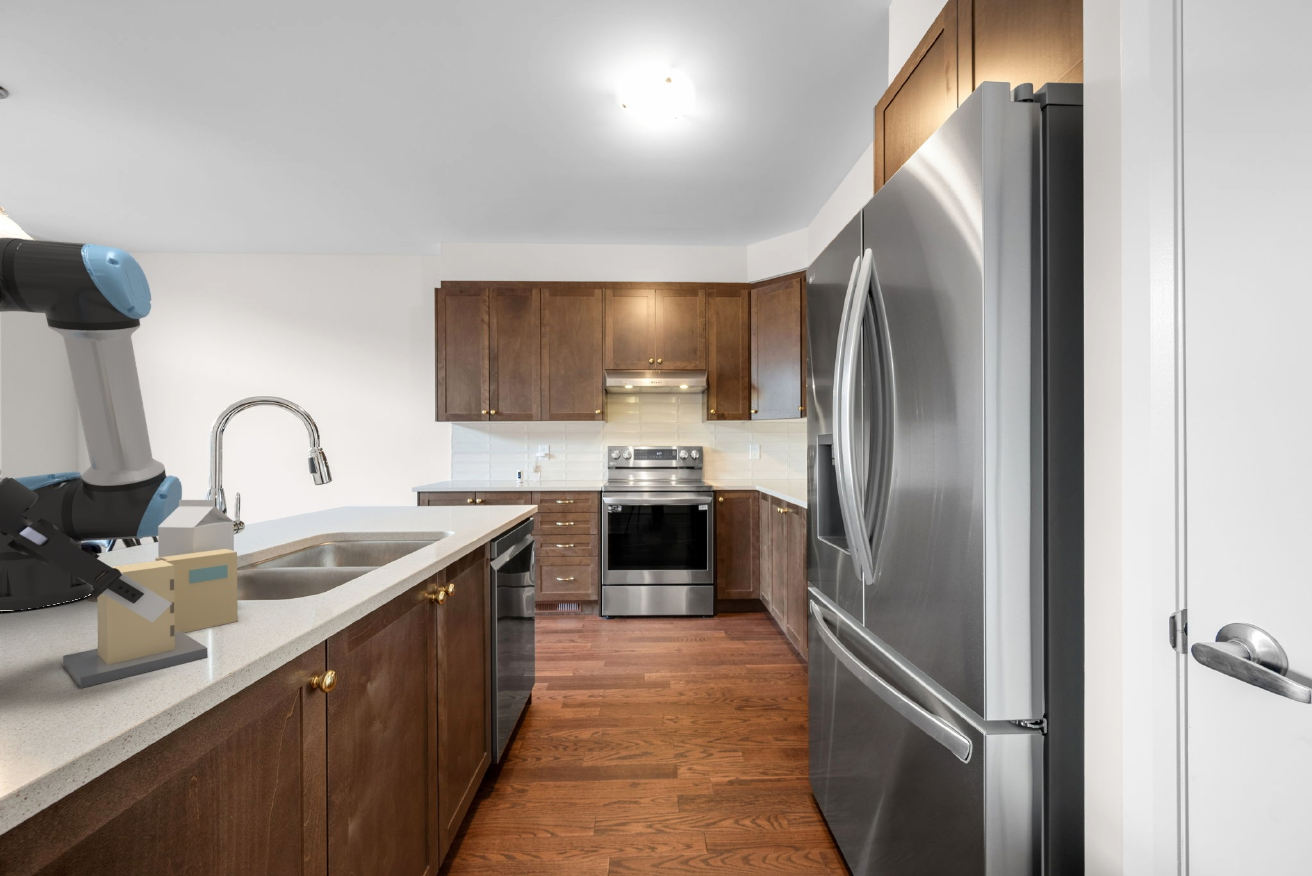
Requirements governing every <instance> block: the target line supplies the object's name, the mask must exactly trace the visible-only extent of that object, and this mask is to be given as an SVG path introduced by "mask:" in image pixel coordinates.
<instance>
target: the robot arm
mask: <svg viewBox="0 0 1312 876" xmlns="http://www.w3.org/2000/svg"><path fill="white" fill-rule="evenodd" d="M150 288H151V287H150V285H149V282H148V279H147V276H146V274H145V272H144V270H143V268H142V267H141V265H140V264H139V262H137V260H136V259H135V258H134V257H133V256H132V255H131V254H130V253H129V252H127V251H126V250H123V249H121V248H117V247H112V246H106V245H99V244H95V243H93V244H92V243H82V242H68V241H67V242H65V241H53V240H39V239H38V240H36V239H26V238H25V239H23V238H20V237H19V238H17V237H0V313H1V312H2V313H3V312H6V313H7V312H27V313H37V314H38V313H39V314H44V315H45V318H46V323H47V327H48V328H49V329H51V330H53V332H56V333H57V334H59V335H60V336H62V337H63V341H64V347H65V351H66V355H67V360H68V364H69V370H70V373H71V374H70V375H71V379H72V383H73V389H74V393H75V399H76V402H77V407H78V412H79V417H80V421H81V424H82V425H81V427H82V430H83V435H84V439H85V444H86V449H87V454H88V459H89V464H90V467H88V468H87V469H86V470H85V471H84V472H83V473H82V474H81V472H79V471H66V472H58V473H57V472H56V473H49V474H38V475H31V476H24V477H23V476H22V477H14V478H13V477H4V478H2V477H1V475H2V469H0V610H21V609H28V608H36V609H38V608H37V607H43V606H47V605H53V604H57V603H63V602H66V601H72V600H75V599H79V598H84V597H85V596H88V595H89V594H91V595H92V597H95V598H97V597H98V596H100V595H101V594H104V595H106V596H108V597H109V598H111V599H113V600H114V601H116V602H118V603H120V604H121V605H123V606H125V607H127V608H128V609H130V610H132V611H133V612H135V613H137V614H139V615H140V616H142V617H144V618H146V619H147V620H149V621H151V622H152V623H153V622H154V621H155V620H156V619H157V618H158V617H159V616H160V615H161V614H162V613H163V612H164V611H165V610H166V609H167V608H168V607H169V606H170V605H171V604H172V603H171V602H169V601H167V600H166V599H164V598H162V597H161V596H159V595H158V594H156V593H154V592H153V591H151V590H149V589H148V588H146V587H144V586H143V585H141V584H140V583H138V582H136V581H135V580H133V579H131V578H130V577H128V576H126V575H125V574H123V573H120V571H119V570H118V569H116V568H112V567H113V566H110V565H108V564H107V563H105V562H103V561H102V560H100V559H99V558H100V555H99V554H98V553H96V552H94V551H93V550H92V551H91V552H90V553H88V552H86V551H85V550H83V549H82V542H93V541H110V540H126V539H128V540H129V539H138V540H140V539H141V540H142V539H144V538H152V537H154V538H155V537H158V526H159V525H160V524H161V523H162V522H163V521H164V520H165V519H166V518H167V517H168V516H169V515H170V514H171V513H173V512H174V511H175V510H176V509H177V508H178V507H179V500H183V499H182V497H183V487H182V482H181V480H180V479H179V478H178V477H177V476H173V475H167V473H166V468H165V464H163V463H162V462H160V461H158V460H156V459H154V458H153V453H152V449H151V442H150V437H149V431H148V425H147V419H146V413H145V408H144V402H143V396H142V390H141V384H140V379H139V375H138V374H139V373H138V368H137V361H136V355H135V351H134V346H133V344H134V343H133V339H132V335H133V333H135V332H136V331H138V329H140V327H141V319H143V318H146V317H148V316H149V314H150V312H151V309H152V303H151V301H152V294H151V293H152V292H151V289H150ZM103 573H104V574H103ZM102 574H103V575H102ZM101 575H102V576H101ZM84 599H85V598H84ZM43 608H44V607H43ZM21 611H22V610H21Z"/></svg>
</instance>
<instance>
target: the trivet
mask: <svg viewBox="0 0 1312 876" xmlns="http://www.w3.org/2000/svg"><path fill="white" fill-rule="evenodd" d="M205 658H208V647H207V646H205V645H204V644H202V643H200V642H199V641H197V640H195V639H194V638H192V637H191V636H189V635H188V634H186V633H183V632H181V631H179V632H175V649H174V650H170V651H165V652H161V653H157V654H152V655H148V656H143V657H139V658H135V659H130V660H126V661H122V662H117V663H113V664H107V663H106V662H105V661H104V660H103V659H102V658H101V657H100V656H99V655H98V648H95V649H90V650H89V649H88V650H84V651H79V652H75V653H70V654H66V655H63V656H62V666H63V667H64V669H65V670H66V671H67V673H68V674H69V675H70V676H71V678H72V679H73V680H74V682H75V683H76V684H77V686H79V688H80V689H84V688H87V687H92V686H95V685H99V684H103V683H106V682H107V683H108V682H112V681H115V680H119V679H124V678H128V677H129V678H130V677H132V676H137V675H140V674H144V673H148V672H149V673H150V672H152V671H156V670H160V669H165V668H168V667H169V668H170V667H173V666H178V665H181V664H185V663H189V662H194V661H198V660H202V659H205Z"/></svg>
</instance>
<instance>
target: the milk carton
mask: <svg viewBox="0 0 1312 876" xmlns="http://www.w3.org/2000/svg"><path fill="white" fill-rule="evenodd" d="M234 529H235V527H234V521H233V519H231V518H230V517H229V516H228V515H226V514H225V513H224V512H222V510H220V509H219V508H217V507H216V500H215V499H182V500H179V507H178V508H177V509H176V510H175V511H174V512H173V513H171V514H170V515H169V516H168V517H167V518H166V519H165V520H164V521H163V522H162V523H161V524H160V525H159V526H158V536H157V537H158V538H157V539H158V540H157V541H158V545H157V546H158V548H157V549H158V550H157V551H158V553H157V554H158V557H166V556H174V555H182V554H190V553H197V552H205V551H213V550H221V549H229V550H232V551H235V548H234V547H235V546H234V545H235V544H234V543H235V539H234V537H235V536H234V534H235V532H234ZM158 557H157V558H158Z"/></svg>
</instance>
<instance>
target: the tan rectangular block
mask: <svg viewBox="0 0 1312 876" xmlns="http://www.w3.org/2000/svg"><path fill="white" fill-rule="evenodd" d="M111 567H112V568H116V569H118V570H119V571H120V573H123V574H125V575H126V576H128V577H130V578H131V579H133V580H135V581H136V582H138V583H140V584H141V585H143V586H144V587H146V588H148V589H149V590H151V591H153V592H154V593H156V594H158V595H159V596H161V597H162V598H164V599H166V600H167V601H169V602H171V603H172V604H171V605H170V606H169V607H168V608H167V609H166V610H165V611H164V612H163V613H162V614H161V615H160V616H159V617H158V618H157V619H156V620H155V621H154V622H153V623H152V622H151V621H149V620H147V619H146V618H144V617H142V616H140V615H139V614H137V613H135V612H133V611H132V610H130V609H128V608H127V607H125V606H123V605H121V604H120V603H118V602H116V601H114V600H113V599H111V598H109V597H108V596H106V595H104V594H101V595H100V596H98V597H97V600H96V601H97V605H96V606H97V649H98V655H99V656H100V657H101V658H102V659H103V660H104V661H105V662H106V663H107V664H113V663H117V662H122V661H126V660H130V659H135V658H139V657H143V656H148V655H152V654H157V653H161V652H165V651H170V650H174V649H175V596H174V565H172V564H170V563H168V562H165V561H163V560H160V561H156V560H154V561H152V560H151V561H146V562H145V561H144V562H138V563H131V564H123V565H114V566H111ZM103 574H104V573H103ZM103 574H102V575H103ZM102 575H101V576H102Z"/></svg>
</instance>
